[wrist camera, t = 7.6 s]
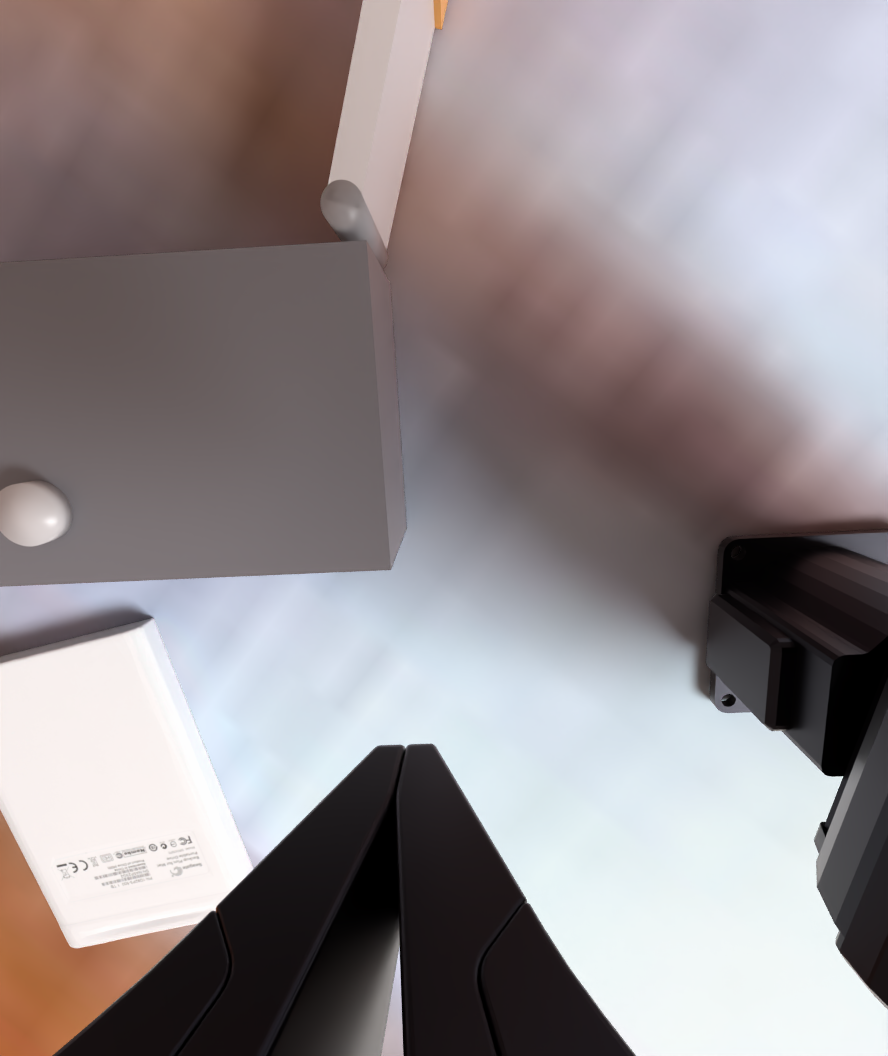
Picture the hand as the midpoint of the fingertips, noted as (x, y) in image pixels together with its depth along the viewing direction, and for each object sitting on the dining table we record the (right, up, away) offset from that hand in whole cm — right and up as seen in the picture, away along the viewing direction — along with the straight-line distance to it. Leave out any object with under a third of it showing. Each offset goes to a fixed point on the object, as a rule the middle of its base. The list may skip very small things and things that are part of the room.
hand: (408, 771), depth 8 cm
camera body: (-7, +7, +11) cm, 15 cm away
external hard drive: (-13, -6, +15) cm, 20 cm away
